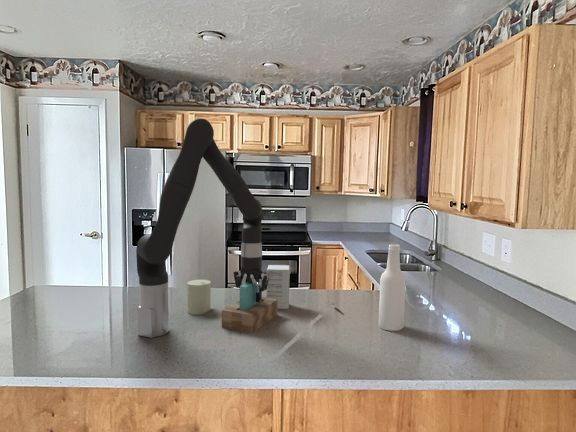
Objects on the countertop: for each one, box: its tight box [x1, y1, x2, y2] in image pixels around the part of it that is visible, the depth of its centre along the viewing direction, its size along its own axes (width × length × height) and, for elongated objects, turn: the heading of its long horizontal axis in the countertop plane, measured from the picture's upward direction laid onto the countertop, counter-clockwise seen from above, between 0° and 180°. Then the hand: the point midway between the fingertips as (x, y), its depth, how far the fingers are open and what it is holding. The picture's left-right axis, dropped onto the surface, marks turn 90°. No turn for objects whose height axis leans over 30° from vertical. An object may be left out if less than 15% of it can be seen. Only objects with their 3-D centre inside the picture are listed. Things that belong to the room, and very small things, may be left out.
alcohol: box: [378, 243, 407, 332], centre depth 143 cm, size 9×9×30 cm
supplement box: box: [265, 264, 291, 310], centre depth 163 cm, size 10×9×17 cm
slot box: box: [221, 296, 279, 334], centre depth 145 cm, size 20×12×7 cm, turn 156°
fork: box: [325, 299, 345, 316], centre depth 163 cm, size 3×16×2 cm, turn 17°
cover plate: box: [239, 278, 263, 311], centre depth 145 cm, size 12×2×14 cm, turn 156°
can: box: [186, 279, 212, 316], centre depth 158 cm, size 9×9×12 cm
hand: (251, 300), depth 145 cm, fingers open, 5 cm apart
